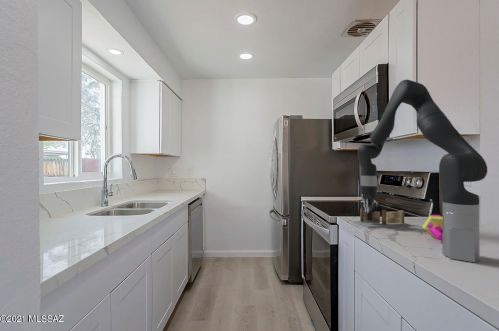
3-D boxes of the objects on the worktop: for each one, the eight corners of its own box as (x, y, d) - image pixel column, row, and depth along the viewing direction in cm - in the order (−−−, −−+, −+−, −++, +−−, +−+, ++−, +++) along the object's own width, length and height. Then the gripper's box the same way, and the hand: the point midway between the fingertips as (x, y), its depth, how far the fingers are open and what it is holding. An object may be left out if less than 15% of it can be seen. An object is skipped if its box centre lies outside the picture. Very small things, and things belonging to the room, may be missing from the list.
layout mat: (368, 227, 123) (368, 226, 123) (353, 222, 135) (353, 221, 135) (410, 225, 127) (409, 224, 127) (392, 220, 139) (392, 219, 139)
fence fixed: (383, 225, 127) (383, 210, 127) (380, 225, 129) (380, 209, 129) (405, 224, 129) (405, 209, 129) (402, 224, 131) (402, 209, 131)
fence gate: (380, 222, 130) (380, 209, 130) (380, 223, 128) (380, 210, 128) (360, 220, 134) (360, 208, 134) (360, 221, 132) (360, 208, 132)
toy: (423, 244, 100) (438, 223, 96) (415, 221, 116) (428, 202, 112) (451, 256, 98) (468, 235, 93) (440, 232, 113) (454, 213, 109)
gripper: (384, 185, 123) (385, 222, 123) (367, 184, 136) (367, 217, 136) (370, 186, 121) (370, 223, 121) (354, 184, 134) (354, 217, 134)
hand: (368, 220), depth 128 cm, fingers closed
